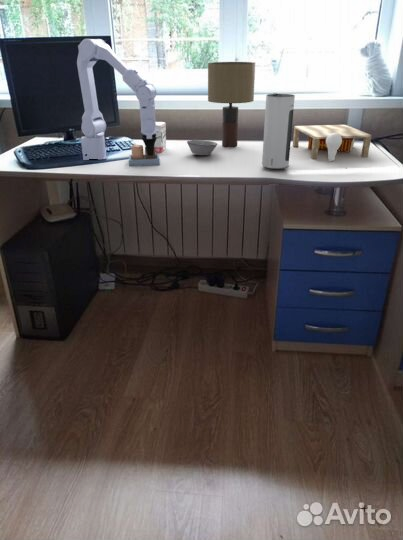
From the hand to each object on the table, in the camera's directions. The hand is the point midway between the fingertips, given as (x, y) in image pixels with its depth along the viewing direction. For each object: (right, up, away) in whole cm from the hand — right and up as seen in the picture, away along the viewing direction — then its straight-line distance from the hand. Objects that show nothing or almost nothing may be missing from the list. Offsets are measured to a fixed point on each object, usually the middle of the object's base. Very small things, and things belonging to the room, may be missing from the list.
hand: (150, 154), depth 169 cm
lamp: (+34, +11, +28) cm, 45 cm away
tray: (-3, -3, +1) cm, 4 cm away
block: (0, -1, +1) cm, 1 cm away
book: (+79, +9, +23) cm, 83 cm away
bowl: (+18, +2, +10) cm, 21 cm away
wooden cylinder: (-5, -3, +1) cm, 6 cm away
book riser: (+76, +6, +17) cm, 79 cm away
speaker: (+49, -6, -4) cm, 50 cm away
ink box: (+1, +7, +20) cm, 21 cm away
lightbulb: (+73, -3, +1) cm, 73 cm away
